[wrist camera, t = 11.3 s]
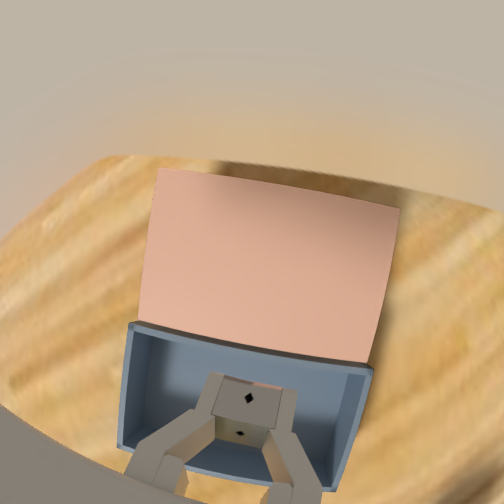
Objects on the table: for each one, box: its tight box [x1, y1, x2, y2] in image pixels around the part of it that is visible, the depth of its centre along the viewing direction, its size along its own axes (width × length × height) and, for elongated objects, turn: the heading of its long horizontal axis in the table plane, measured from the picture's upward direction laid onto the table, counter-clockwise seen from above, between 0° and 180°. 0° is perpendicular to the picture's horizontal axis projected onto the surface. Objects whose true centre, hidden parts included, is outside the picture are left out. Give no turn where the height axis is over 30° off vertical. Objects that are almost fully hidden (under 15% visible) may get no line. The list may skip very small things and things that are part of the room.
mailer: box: [117, 320, 374, 492], centre depth 24 cm, size 18×11×5 cm, turn 80°
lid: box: [138, 168, 400, 363], centre depth 22 cm, size 17×11×1 cm, turn 80°
